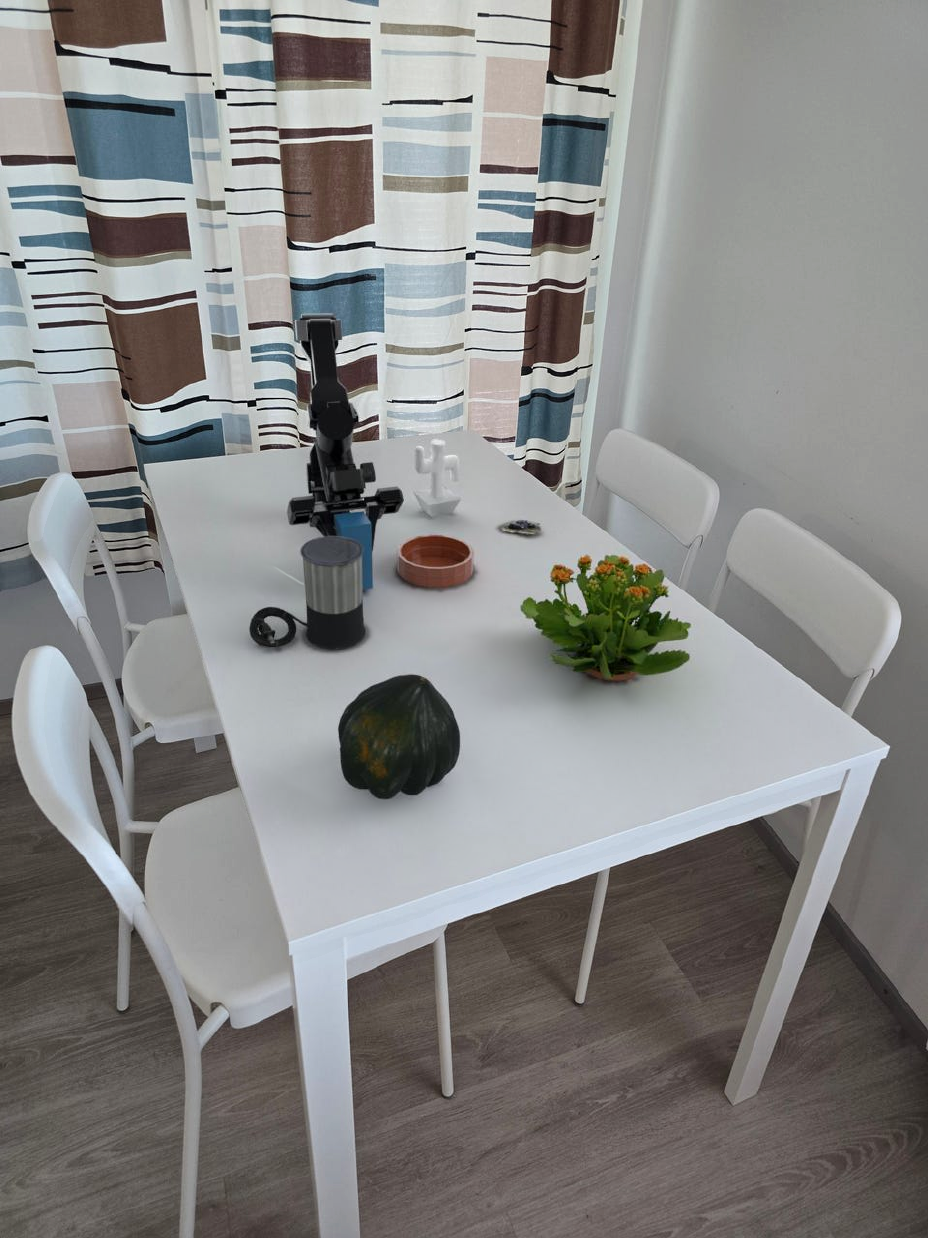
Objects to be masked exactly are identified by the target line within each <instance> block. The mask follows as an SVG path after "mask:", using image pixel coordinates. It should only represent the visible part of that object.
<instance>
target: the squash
mask: <svg viewBox="0 0 928 1238" xmlns="http://www.w3.org/2000/svg"><path fill="white" fill-rule="evenodd" d="M337 732H338V742H339V745H340V747H339V756H340V757H339V759H340V767H341V771H342V775H343V778H344V780H345V781H346V782H347V784H348V785H350V786H351V787H352V788H354V789H357V790H360V791H369V792H370V794H371V795H372V796H373V797H375V798H376V799H379V800H389V799H392V798H394V797H396V796H397V795H398V794H400V792H401V793H402V794H403V795H406V796H412V797H413V796H418V795H420V794H421V793H423V791H425V790H426V789H427V788H430V787H433V786H435V785H437V784H439V783H440V782H441V781H442V780H443V779H444V778H445V776H447V775H448V774H450V772H451V771H452V770H453V769H454V768H455V767H456V765H457V762H458V759H459V756H460V751H461V732H460V727H459V724H458V720H457V719H456V717H455V713H454V710H453V709H452V707H451V705H450V703H449V701H447V699H446V698H445V697H444V696H443V695H442V693H440V691H439V690H437V688H436V687H435V686H434V685H433V683H432V682H431V681H430V680H429V679H428V678H426V677H424V676H422V675H419V674H400V675H396V676H392V677H390V678H388V679H386V680H383V681H381V682H378V683H375V684H372V685H370V686H369V687H367V688H366V689H363V690H362V691H361V692H360V693H359V694H358V695H357V696H356V697H355V698H354V699H353V700H352V701H351V702H350V703H349V704H347V706H346V707H345V709H344V710H343V713H342V714H341V716H340V719H339V722H338V726H337Z"/></svg>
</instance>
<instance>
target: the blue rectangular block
mask: <svg viewBox="0 0 928 1238" xmlns="http://www.w3.org/2000/svg"><path fill="white" fill-rule="evenodd" d="M334 529H335V532H336V535H337V536H342V537H346V538H351V539H353V540H355V541H357V542H359V543H360V544H361V545H362V547H363V548H364V552H363V554H362V586H363V591H366V590H372V589H374V578H373V577H374V576H373V572H374V571H373V552H372V526H371V522H370V520H369V519H368V517H367V516H366V512H365V510H362V511H353V512H351V513H343V514H335V515H334Z"/></svg>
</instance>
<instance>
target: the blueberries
mask: <svg viewBox="0 0 928 1238" xmlns="http://www.w3.org/2000/svg"><path fill="white" fill-rule="evenodd" d="M500 530H501V531H503V532H508V533H520V534H524V535H526V536H534V535H536V534H539V532H541V531H542V526H541V523H539V522H534V521H531V520H526V519H525V520H524V519H520V520H518V519H517V520H516V521H513V522H510V523H507V524H503V525H501V527H500Z"/></svg>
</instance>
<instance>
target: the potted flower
mask: <svg viewBox="0 0 928 1238" xmlns="http://www.w3.org/2000/svg"><path fill="white" fill-rule="evenodd" d="M630 561H631V560H630V559H629V558H628V557H625V556H622V555H621V556H619V555H616V554H611V555H608V554H606V555H605V556H604V560H603V559H600V560H599V561H598V562H597V566H595V568H594V571H593V574H590V575H589V577H588V576H587V571H590V570H592V568H591V566H592V562H593V559H592V558H591V556H590V555H588V554H585V555H584V556H580V558H578V560H577V568H578V569H579V570H580V573H578V574H577V575H576V577H573V576H572V575H574V574H575V573H576V572H575V571H574V570H573V569H571V568H568V567H566V565H563V564H554V565H553V566H552V569H551V572H550V573H549V574H550V575H549V576H550V582H552V583H553V584H554V585H555V586H556V588H557V589H555V590H554V593H555V594H556V595H558V597H559V598H554V599H553V601H550V599H548V598H546V599H544V600H540V601H538V602H537V601H536V600H535V599H534V598H532V597H531V596H528V597H527V598H525V599H524V600H523V601H522V604H521V605H520V611H521V612H522V613H523V615H525V618H526V619H530V620H531V619H532V620H533V622H534V623H535V624H534V627H535V628H536V629H538V630H542V631H540V635H542V637H545V638H546V639H548V640H551V641H552V643H553V644H557V645H559V646H561V647H562V648H558V649H556V650H555V651H556V652H565V655H566V656H567V657H564V656H561V655H557V654H553V653H550V654H549V656H550V658H551V661H552V662H553V664H554V665H556V666H565V667H572V672H573V673H584V672H585V673H588V674H589V675H590V676H592V677H595V678H597V679H600V680H605V681H609V682H611V681H616V682H620V681H627V680H631V679H632V678H634V677H635V676H637V675H638V674H639V675H641V676H646V677H647V676H656V675H661V674H665V673H669V672H672V671H675V670H676V669H678V668H680V667H682V666H684V664H685V663H687V662H689V661H690V658H691V656H690V655H691V654H689V653H688V652H687V651H686V650H681V649H678V650H675V649H673V650H665V651H662V652H660V653H659V651H656V652H654V653H651V652H652V651H653V650H654V649H655V647H656V646H657V645H658V644H659V643H664V642H674V641H682V640H683V641H684V640H686V639H688V637H689V629H690V628H691V627H692V624H691V623H690V622H688V621H685V622H683V621H681V620H679V617H676V618H675V619H672V618H670V614H671V610H668V611H667V612H666V613H665V615H664V616H663V613H662V612H660V611H659V610H655V611H651V610H650V609H651V607H652V606H653V605H654V603H655V602H656V601H657V600H658V599H659V598H661V597H665V598H669V597H670V596H669V594H668V593H669V590H668V589H669V585H664V584H663V583H664V579H665V576H666V575H665V573H664V570H663V569H657V570H655V571H654V572H653V570H652V568H651V566H649V565H648V564H645V563H640V564H635V565H634V564H633V563H630ZM634 566H635V567H634ZM571 576H572V577H571ZM574 581H575V582H576V583H577V587H578V589H579V591H580V592H581V594H582V598H583V600H584V603H585V605H586V609H587V612H585V613H582V610H581V609H580V607H579V605H577V603H573V604H571V603H569V601H568V597H567V590H566V585H568V584H571V583H574ZM562 590H563V594H562ZM662 616H663V617H662ZM633 623H634V624H633ZM578 645H579V646H578ZM568 653H576V655H577V656H572V655H570V654H568ZM649 653H650V654H649Z"/></svg>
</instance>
